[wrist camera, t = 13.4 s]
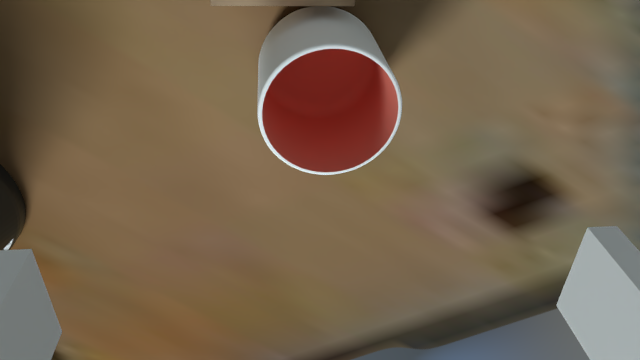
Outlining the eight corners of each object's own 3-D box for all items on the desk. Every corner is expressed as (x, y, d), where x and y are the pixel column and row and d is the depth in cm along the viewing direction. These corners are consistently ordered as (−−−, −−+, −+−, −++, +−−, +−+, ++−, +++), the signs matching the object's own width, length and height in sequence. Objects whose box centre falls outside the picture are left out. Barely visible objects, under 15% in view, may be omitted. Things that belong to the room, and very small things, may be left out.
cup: (279, 127, 47) (283, 190, 39) (241, 22, 42) (236, 70, 33) (386, 96, 46) (413, 154, 38) (362, -15, 41) (387, 24, 33)
